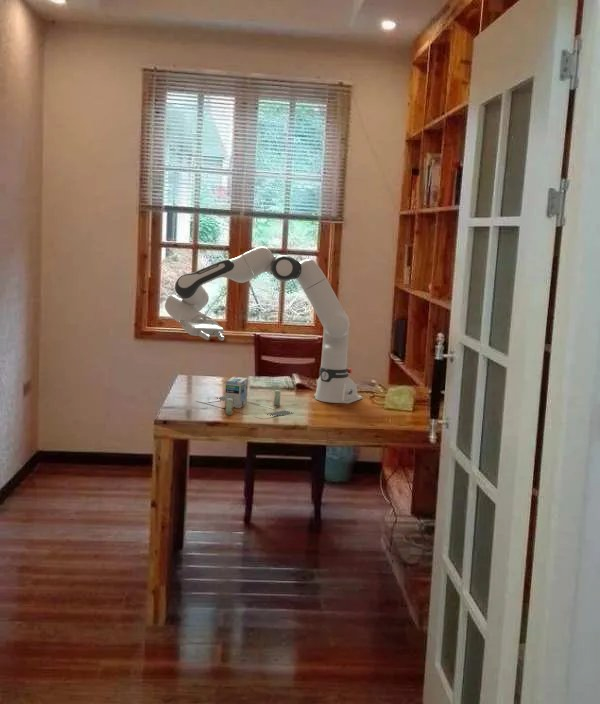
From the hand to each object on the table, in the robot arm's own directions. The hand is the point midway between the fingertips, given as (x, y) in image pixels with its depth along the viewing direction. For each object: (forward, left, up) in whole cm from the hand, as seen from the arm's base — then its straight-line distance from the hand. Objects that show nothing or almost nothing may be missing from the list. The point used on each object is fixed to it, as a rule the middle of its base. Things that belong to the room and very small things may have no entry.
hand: (215, 338), depth 325 cm
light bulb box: (-3, +11, -26) cm, 29 cm away
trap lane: (-3, +16, -26) cm, 31 cm away
